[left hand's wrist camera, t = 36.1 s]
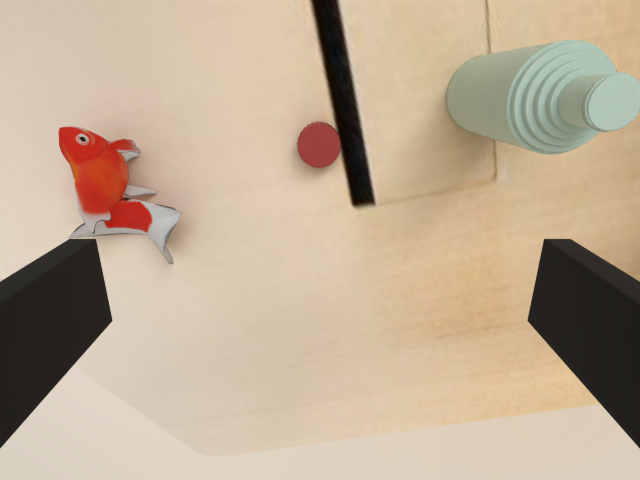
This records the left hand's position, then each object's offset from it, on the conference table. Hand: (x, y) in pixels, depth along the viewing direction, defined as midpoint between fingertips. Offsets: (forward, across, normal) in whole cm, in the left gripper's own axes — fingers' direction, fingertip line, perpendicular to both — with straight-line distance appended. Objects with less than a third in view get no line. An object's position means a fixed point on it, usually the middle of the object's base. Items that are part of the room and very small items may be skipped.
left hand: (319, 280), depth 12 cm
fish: (+32, -19, -5) cm, 37 cm away
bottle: (+32, +16, +5) cm, 36 cm away
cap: (+29, 0, 0) cm, 30 cm away
